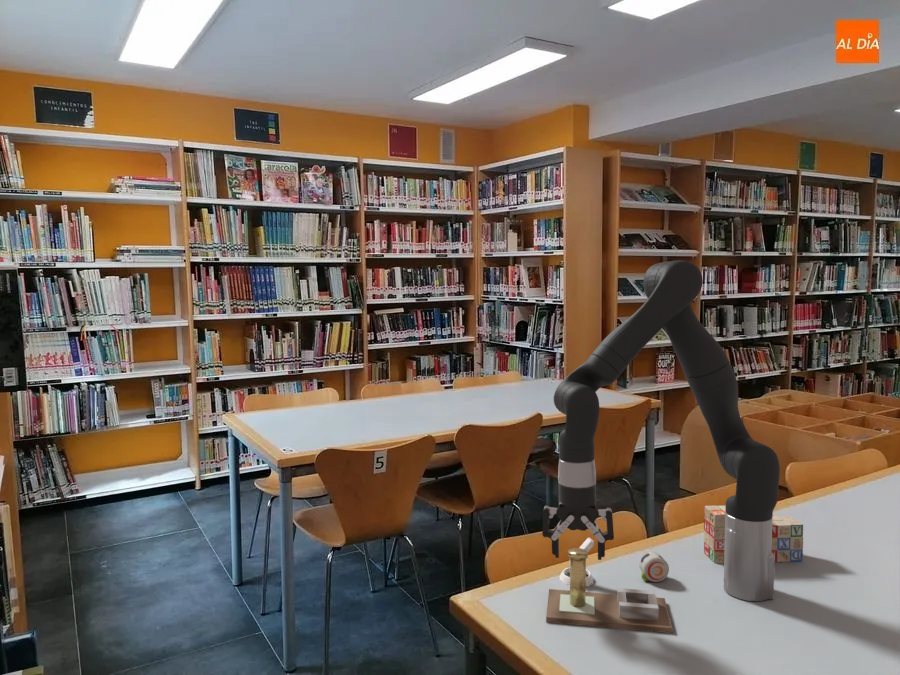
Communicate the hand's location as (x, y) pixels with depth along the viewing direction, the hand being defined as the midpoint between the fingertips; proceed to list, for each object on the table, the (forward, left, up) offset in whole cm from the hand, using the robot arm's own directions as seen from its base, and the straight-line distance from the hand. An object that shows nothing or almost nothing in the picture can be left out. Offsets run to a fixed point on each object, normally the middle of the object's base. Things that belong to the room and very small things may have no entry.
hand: (578, 557), depth 133 cm
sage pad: (0, 0, -10) cm, 10 cm away
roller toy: (-17, -17, -11) cm, 26 cm away
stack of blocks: (-41, -33, -12) cm, 54 cm away
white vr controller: (0, -14, -12) cm, 18 cm away
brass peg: (0, 0, -10) cm, 10 cm away
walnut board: (-6, 0, -11) cm, 13 cm away
